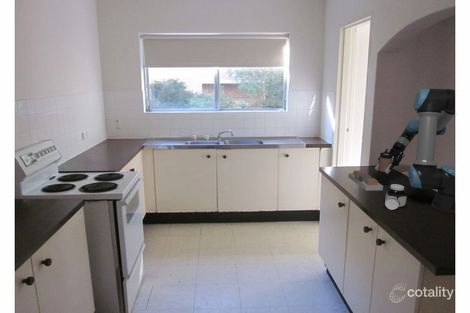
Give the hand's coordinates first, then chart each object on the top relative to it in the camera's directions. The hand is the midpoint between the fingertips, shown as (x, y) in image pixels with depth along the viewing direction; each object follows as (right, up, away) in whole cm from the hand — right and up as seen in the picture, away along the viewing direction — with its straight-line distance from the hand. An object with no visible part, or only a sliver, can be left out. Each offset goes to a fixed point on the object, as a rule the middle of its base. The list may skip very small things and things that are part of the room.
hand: (380, 171), depth 225 cm
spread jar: (-8, -19, -37) cm, 42 cm away
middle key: (-10, -6, +3) cm, 12 cm away
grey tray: (-10, -8, +3) cm, 13 cm away
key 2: (-9, -8, -6) cm, 14 cm away
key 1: (-10, -4, +11) cm, 16 cm away
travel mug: (+3, -8, +4) cm, 9 cm away
